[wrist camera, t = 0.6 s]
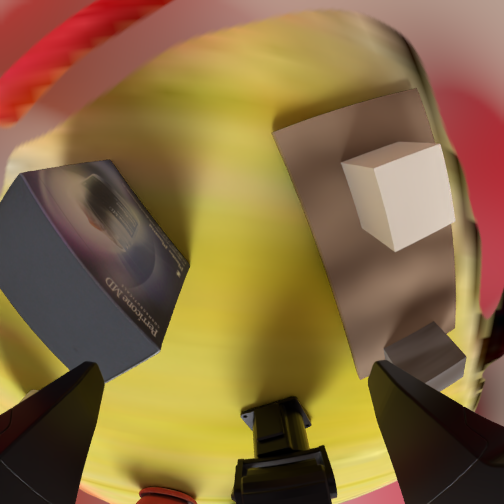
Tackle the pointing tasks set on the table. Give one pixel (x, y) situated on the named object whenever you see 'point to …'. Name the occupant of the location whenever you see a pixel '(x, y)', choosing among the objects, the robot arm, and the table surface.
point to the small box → (88, 266)
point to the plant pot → (163, 496)
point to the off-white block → (401, 192)
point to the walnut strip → (376, 243)
